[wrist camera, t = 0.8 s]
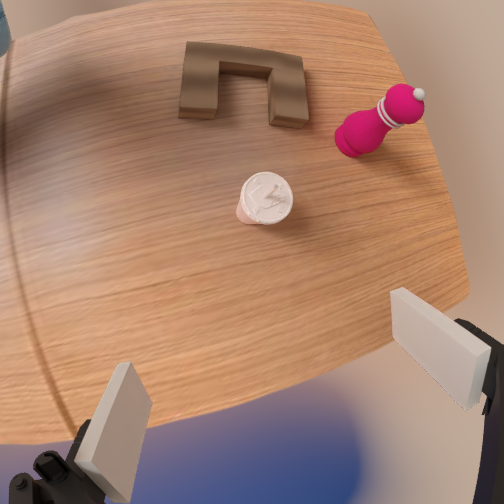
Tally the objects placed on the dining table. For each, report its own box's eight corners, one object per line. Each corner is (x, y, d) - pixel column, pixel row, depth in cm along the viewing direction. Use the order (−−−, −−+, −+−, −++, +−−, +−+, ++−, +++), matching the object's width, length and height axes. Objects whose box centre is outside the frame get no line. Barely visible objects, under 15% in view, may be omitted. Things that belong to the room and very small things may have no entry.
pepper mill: (367, 133, 53) (439, 86, 33) (363, 166, 52) (442, 125, 33) (334, 117, 51) (402, 60, 32) (328, 150, 50) (403, 98, 31)
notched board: (300, 128, 49) (309, 119, 46) (178, 117, 44) (179, 106, 41) (294, 67, 50) (301, 56, 46) (185, 53, 45) (186, 41, 41)
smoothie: (227, 188, 45) (252, 155, 32) (269, 192, 47) (308, 163, 33) (226, 232, 45) (250, 214, 31) (268, 234, 46) (309, 219, 33)
